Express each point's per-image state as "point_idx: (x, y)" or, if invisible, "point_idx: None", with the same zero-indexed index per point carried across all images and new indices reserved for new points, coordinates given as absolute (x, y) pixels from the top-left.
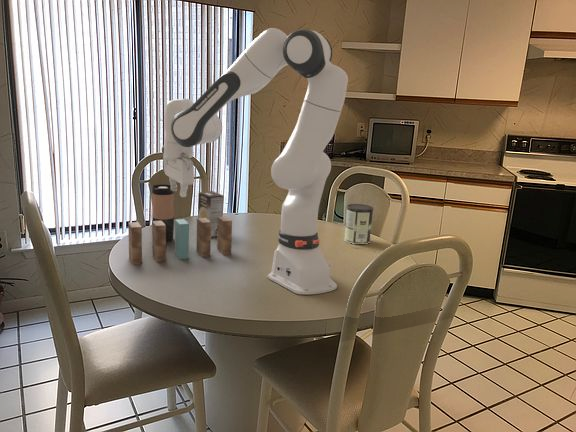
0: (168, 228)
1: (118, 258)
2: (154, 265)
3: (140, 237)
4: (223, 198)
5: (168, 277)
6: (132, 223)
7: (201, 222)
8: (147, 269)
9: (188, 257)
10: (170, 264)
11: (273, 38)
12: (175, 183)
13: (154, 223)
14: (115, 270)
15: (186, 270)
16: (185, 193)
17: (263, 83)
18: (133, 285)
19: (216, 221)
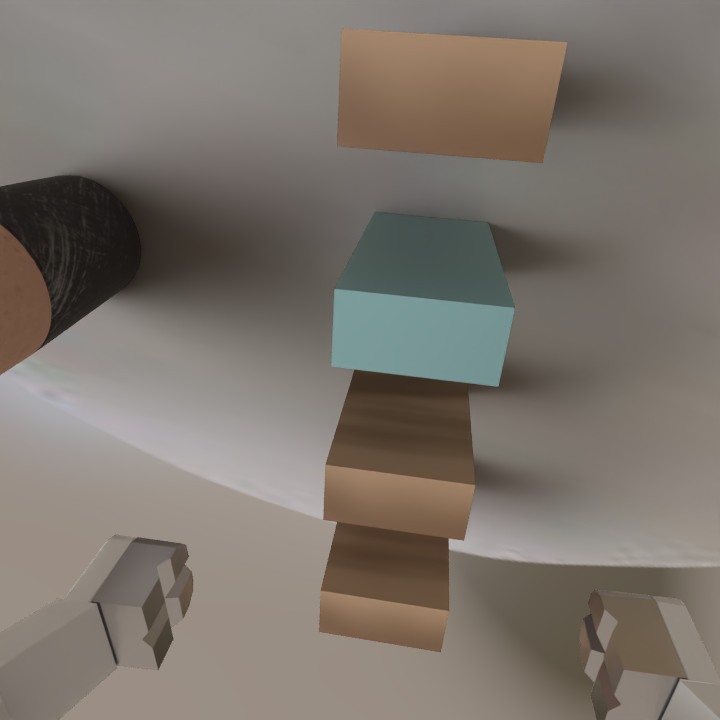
0: (86, 250)
1: None
2: (505, 417)
3: (446, 558)
4: None
5: (705, 418)
6: (347, 622)
7: (511, 159)
8: (542, 458)
9: (488, 225)
10: (532, 348)
11: None
12: (62, 641)
13: (394, 528)
14: (485, 554)
15: (672, 308)
16: (697, 659)
17: None
18: (693, 552)
19: None
